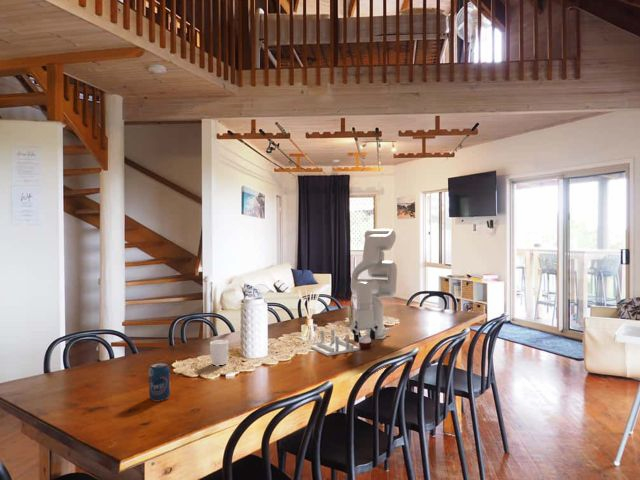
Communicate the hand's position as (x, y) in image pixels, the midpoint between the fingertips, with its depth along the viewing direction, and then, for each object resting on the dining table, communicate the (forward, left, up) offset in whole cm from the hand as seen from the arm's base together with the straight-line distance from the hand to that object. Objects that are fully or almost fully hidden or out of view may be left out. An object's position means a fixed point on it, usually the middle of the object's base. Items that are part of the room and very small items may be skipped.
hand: (364, 340), depth 217 cm
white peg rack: (+13, -7, -4) cm, 15 cm away
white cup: (+69, -14, -4) cm, 71 cm away
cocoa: (0, 0, -4) cm, 4 cm away
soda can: (+99, +13, -4) cm, 100 cm away
